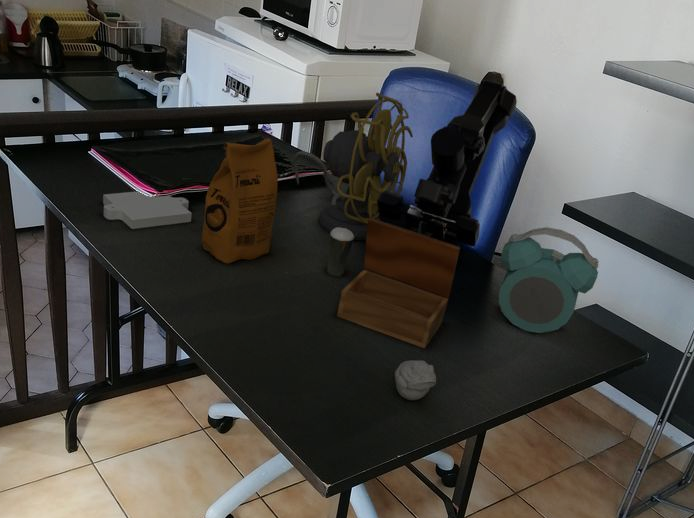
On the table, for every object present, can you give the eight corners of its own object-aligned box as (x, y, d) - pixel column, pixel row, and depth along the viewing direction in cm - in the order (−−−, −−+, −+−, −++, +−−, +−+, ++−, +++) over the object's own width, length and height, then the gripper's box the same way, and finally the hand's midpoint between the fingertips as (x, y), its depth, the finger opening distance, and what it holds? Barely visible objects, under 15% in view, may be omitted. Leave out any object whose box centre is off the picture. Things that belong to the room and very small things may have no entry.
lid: (458, 249, 127) (460, 246, 127) (367, 219, 130) (369, 217, 131) (448, 297, 135) (450, 295, 136) (363, 268, 139) (365, 265, 139)
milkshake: (347, 281, 146) (357, 233, 141) (321, 274, 146) (329, 226, 141) (352, 271, 150) (362, 225, 145) (326, 265, 150) (335, 218, 145)
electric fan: (350, 256, 156) (379, 111, 141) (231, 203, 168) (246, 65, 153) (409, 227, 176) (441, 98, 161) (299, 182, 188) (319, 57, 173)
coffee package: (193, 245, 146) (203, 134, 136) (245, 236, 155) (258, 130, 144) (223, 267, 141) (235, 153, 130) (275, 256, 149) (291, 148, 138)
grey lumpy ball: (402, 413, 112) (412, 375, 108) (382, 386, 117) (392, 348, 113) (437, 410, 114) (448, 372, 111) (416, 383, 120) (427, 346, 116)
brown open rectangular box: (424, 348, 129) (432, 322, 127) (336, 316, 133) (342, 290, 131) (441, 323, 138) (448, 298, 136) (358, 294, 142) (363, 269, 139)
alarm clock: (574, 328, 147) (610, 234, 137) (570, 349, 139) (608, 251, 129) (488, 300, 150) (518, 206, 140) (479, 320, 142) (510, 222, 132)
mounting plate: (171, 196, 165) (171, 188, 164) (201, 220, 157) (202, 211, 156) (91, 204, 154) (91, 195, 153) (119, 230, 146) (120, 221, 145)
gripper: (391, 146, 132) (356, 222, 128) (493, 177, 128) (460, 257, 124) (396, 178, 143) (364, 250, 139) (490, 208, 138) (460, 282, 135)
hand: (410, 259), depth 134 cm, fingers closed, pressing on lid
